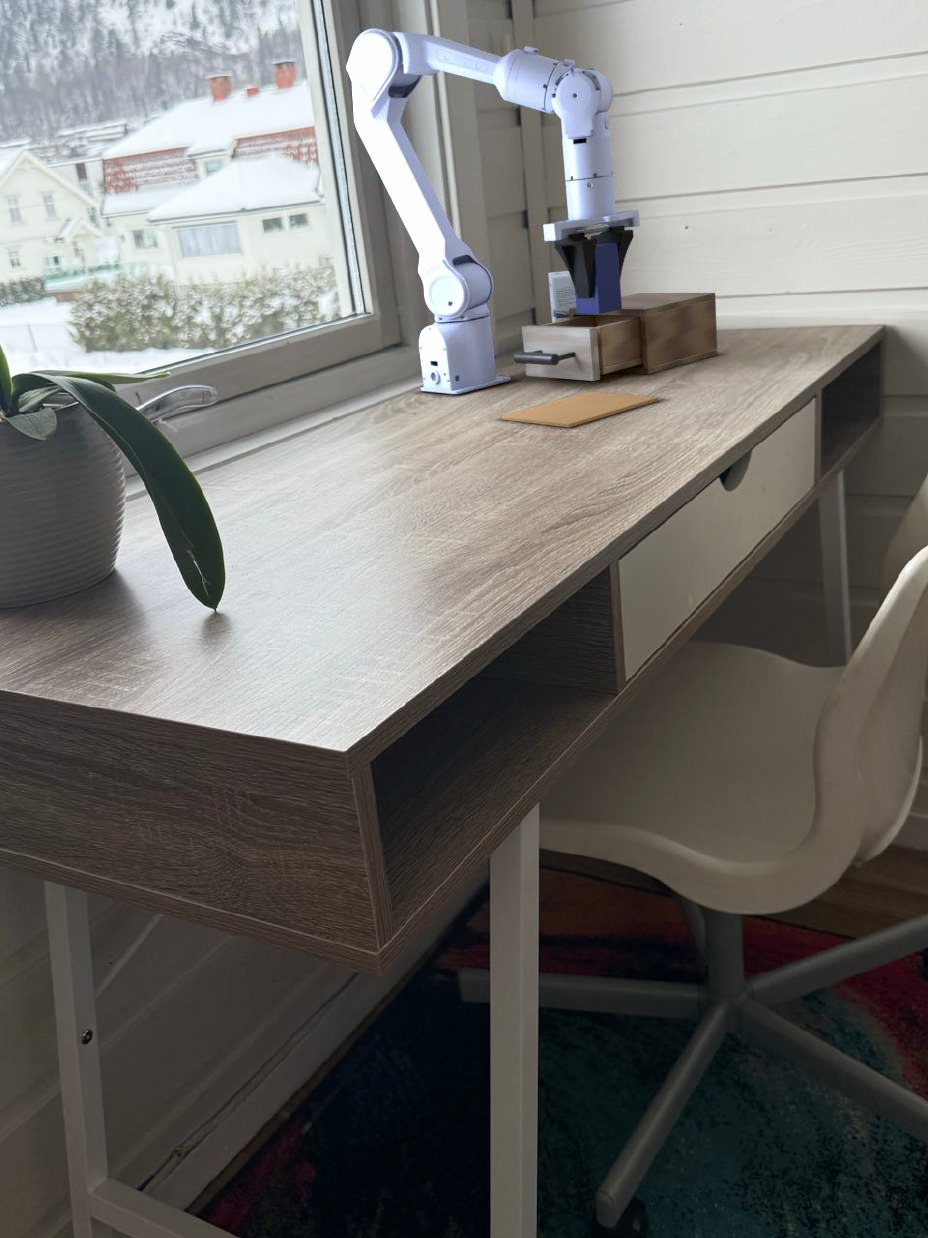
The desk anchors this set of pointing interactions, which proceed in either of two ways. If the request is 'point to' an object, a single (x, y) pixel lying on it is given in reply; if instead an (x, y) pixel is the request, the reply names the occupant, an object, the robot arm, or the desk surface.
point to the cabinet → (670, 328)
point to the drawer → (582, 347)
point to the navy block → (603, 282)
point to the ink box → (561, 295)
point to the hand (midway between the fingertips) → (597, 294)
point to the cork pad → (579, 409)
